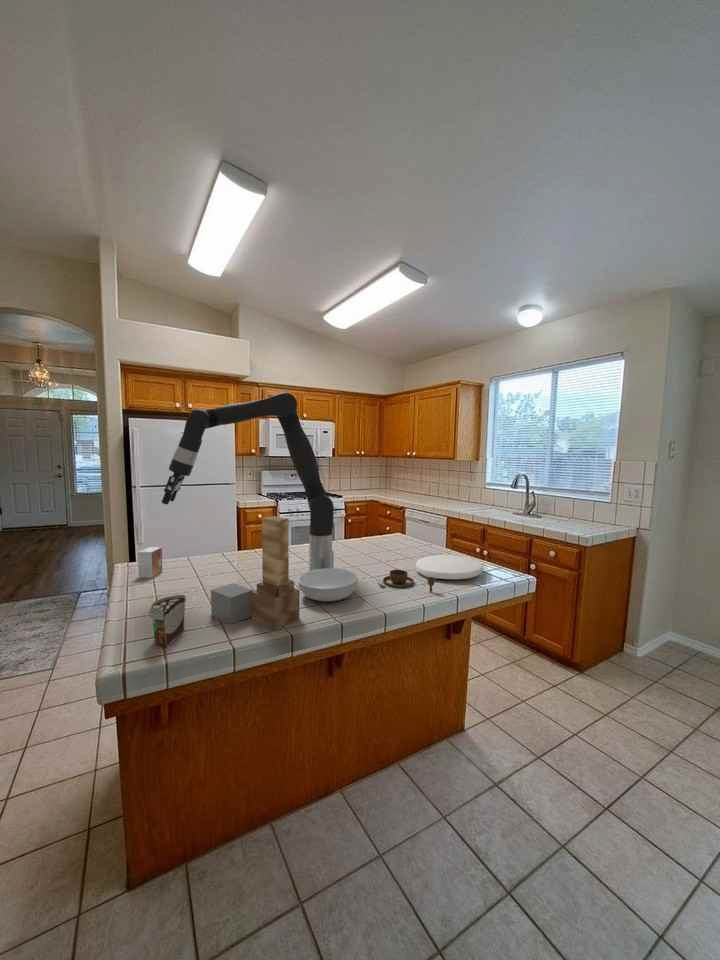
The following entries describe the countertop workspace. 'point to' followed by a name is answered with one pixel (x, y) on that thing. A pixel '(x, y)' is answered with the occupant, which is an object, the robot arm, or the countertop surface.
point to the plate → (449, 567)
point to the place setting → (403, 580)
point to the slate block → (231, 603)
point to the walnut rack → (274, 605)
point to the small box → (150, 562)
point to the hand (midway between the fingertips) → (167, 502)
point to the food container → (168, 619)
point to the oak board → (275, 551)
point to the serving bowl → (327, 584)
